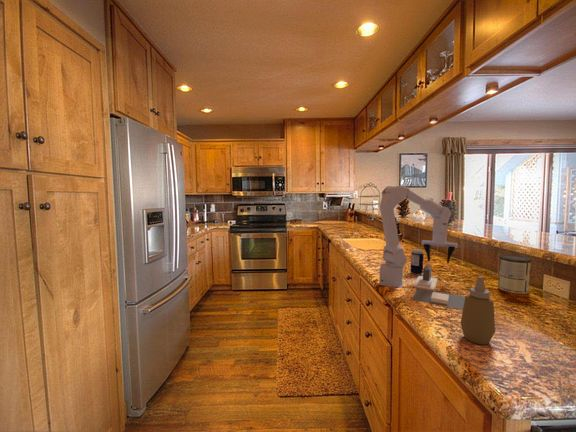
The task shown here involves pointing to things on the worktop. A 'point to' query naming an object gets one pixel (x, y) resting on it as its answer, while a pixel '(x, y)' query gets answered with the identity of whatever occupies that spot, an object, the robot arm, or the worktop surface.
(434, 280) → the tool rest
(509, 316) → the worktop surface
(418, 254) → the beverage can
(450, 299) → the mat
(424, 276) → the grey bar
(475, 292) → the squeeze bottle
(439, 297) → the tile
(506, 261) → the coffee can
